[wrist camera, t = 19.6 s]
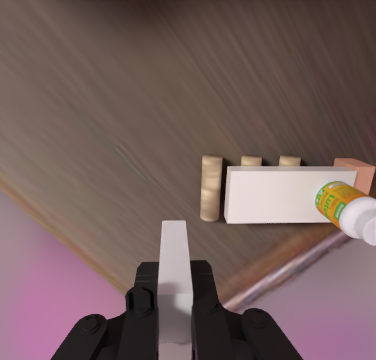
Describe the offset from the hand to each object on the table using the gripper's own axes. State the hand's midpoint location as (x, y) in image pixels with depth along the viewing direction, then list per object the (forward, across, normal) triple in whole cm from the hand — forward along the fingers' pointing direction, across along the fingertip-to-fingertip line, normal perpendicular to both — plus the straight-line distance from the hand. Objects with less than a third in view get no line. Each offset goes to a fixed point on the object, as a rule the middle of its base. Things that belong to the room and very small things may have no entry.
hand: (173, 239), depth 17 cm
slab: (+21, +17, -5) cm, 28 cm away
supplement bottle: (+19, +23, -5) cm, 30 cm away
